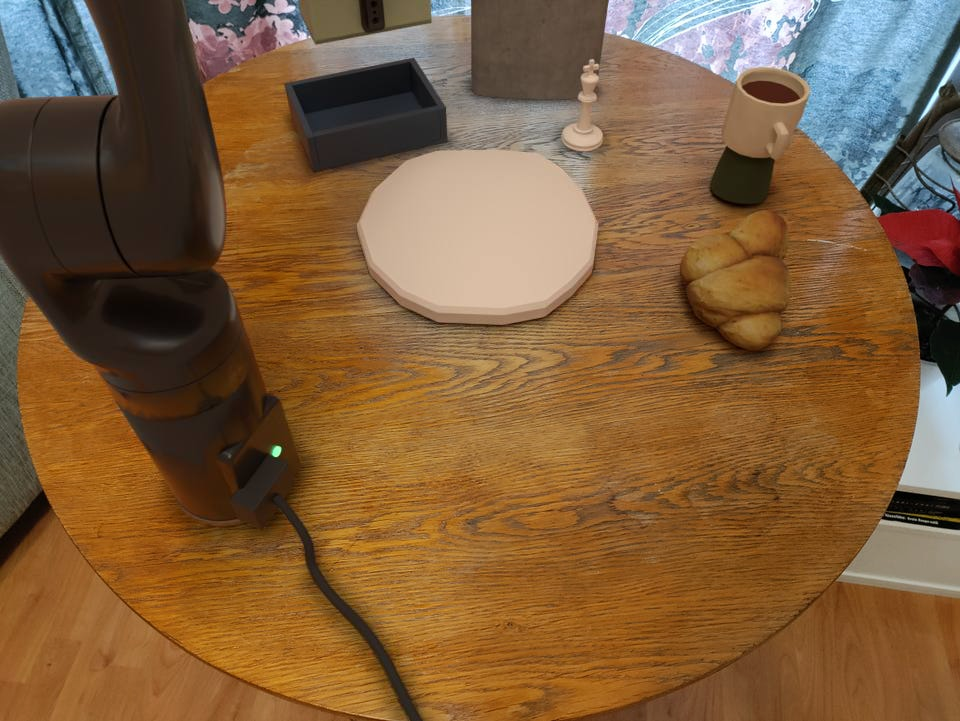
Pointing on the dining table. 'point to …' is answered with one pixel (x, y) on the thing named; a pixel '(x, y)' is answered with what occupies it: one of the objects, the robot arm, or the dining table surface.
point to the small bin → (358, 17)
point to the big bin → (366, 113)
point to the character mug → (757, 132)
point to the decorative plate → (479, 236)
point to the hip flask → (534, 47)
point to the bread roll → (741, 279)
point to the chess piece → (584, 116)
